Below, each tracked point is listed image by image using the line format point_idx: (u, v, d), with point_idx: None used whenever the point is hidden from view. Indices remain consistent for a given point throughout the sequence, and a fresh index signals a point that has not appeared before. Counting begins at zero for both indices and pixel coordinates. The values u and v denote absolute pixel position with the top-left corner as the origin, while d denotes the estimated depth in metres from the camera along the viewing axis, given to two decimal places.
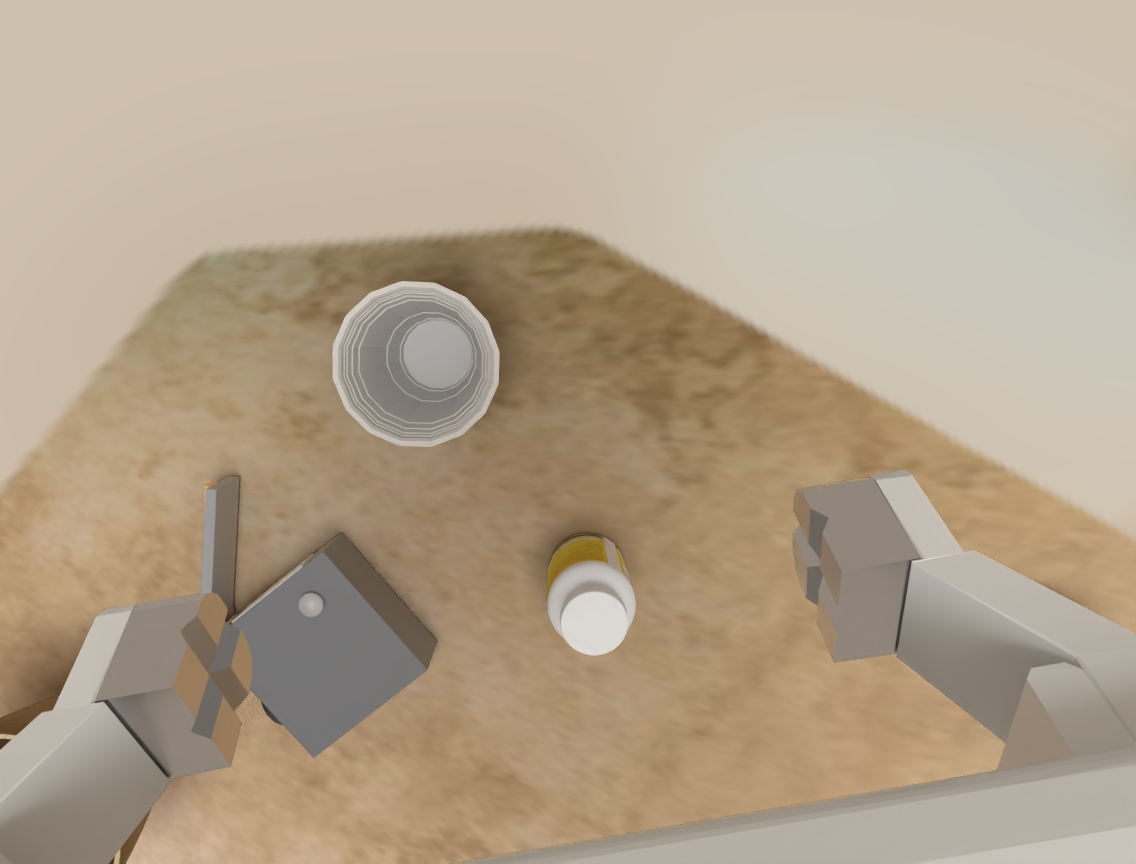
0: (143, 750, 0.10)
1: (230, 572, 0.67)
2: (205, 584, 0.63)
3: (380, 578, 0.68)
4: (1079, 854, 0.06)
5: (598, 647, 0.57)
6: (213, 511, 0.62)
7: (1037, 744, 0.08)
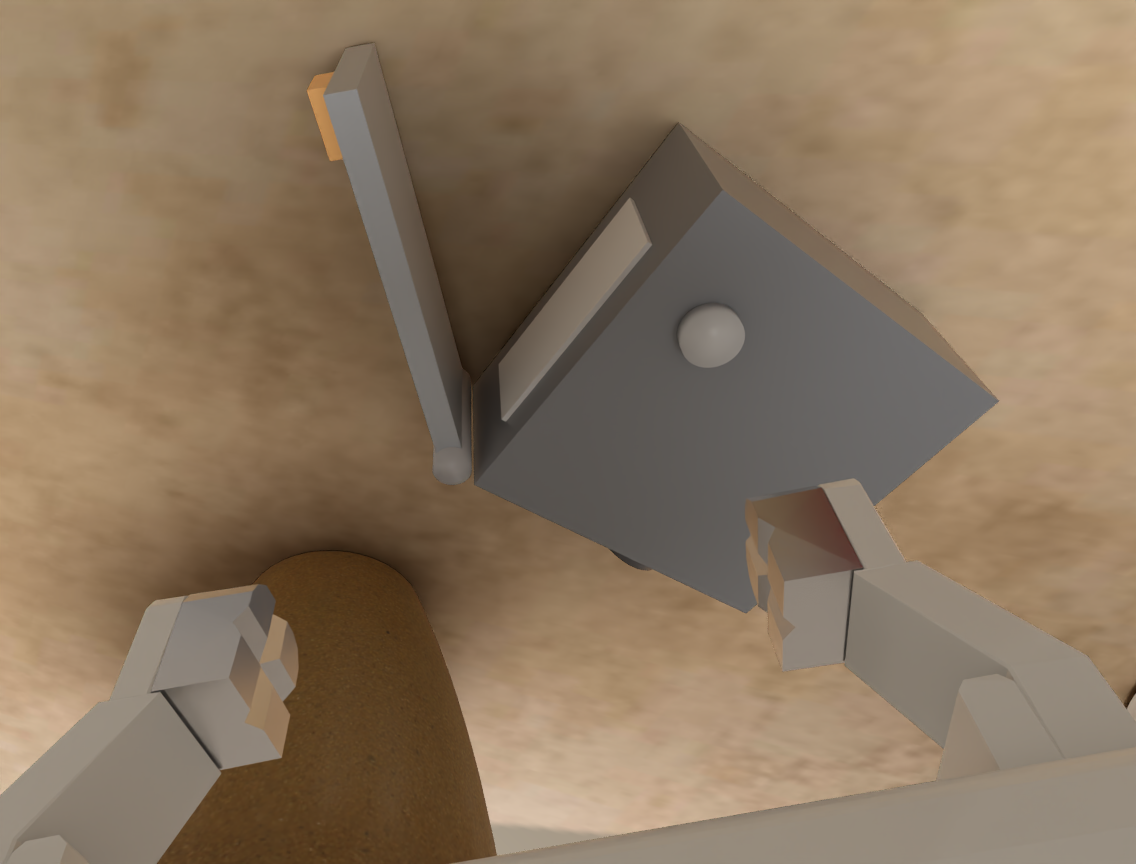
0: (196, 741, 0.10)
1: (439, 302, 0.27)
2: (419, 359, 0.24)
3: (793, 214, 0.27)
4: (1079, 854, 0.06)
5: None
6: (371, 161, 0.20)
7: (968, 756, 0.08)
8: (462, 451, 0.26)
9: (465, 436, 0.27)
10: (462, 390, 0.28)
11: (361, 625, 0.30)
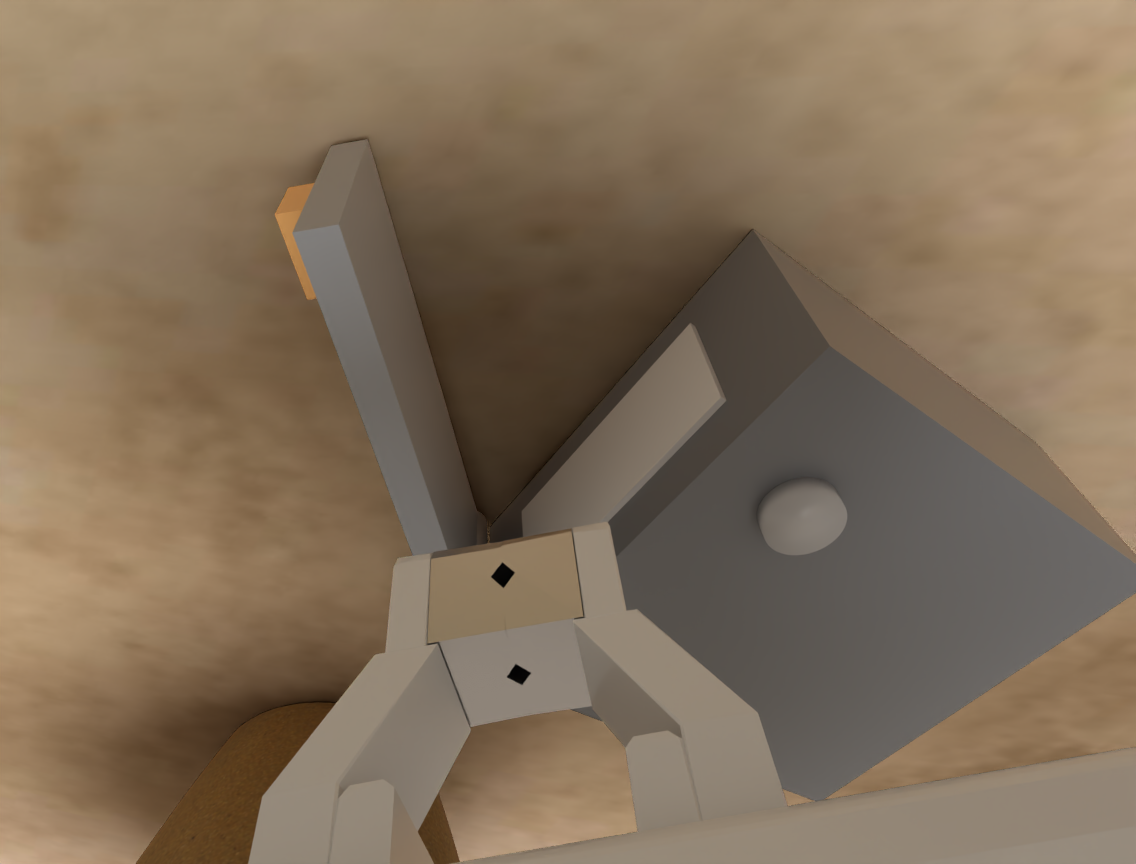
0: (457, 696, 0.10)
1: (450, 444, 0.22)
2: (423, 540, 0.18)
3: (890, 335, 0.22)
4: (1079, 854, 0.06)
5: None
6: (359, 311, 0.15)
7: None
8: None
9: None
10: (477, 544, 0.23)
11: None
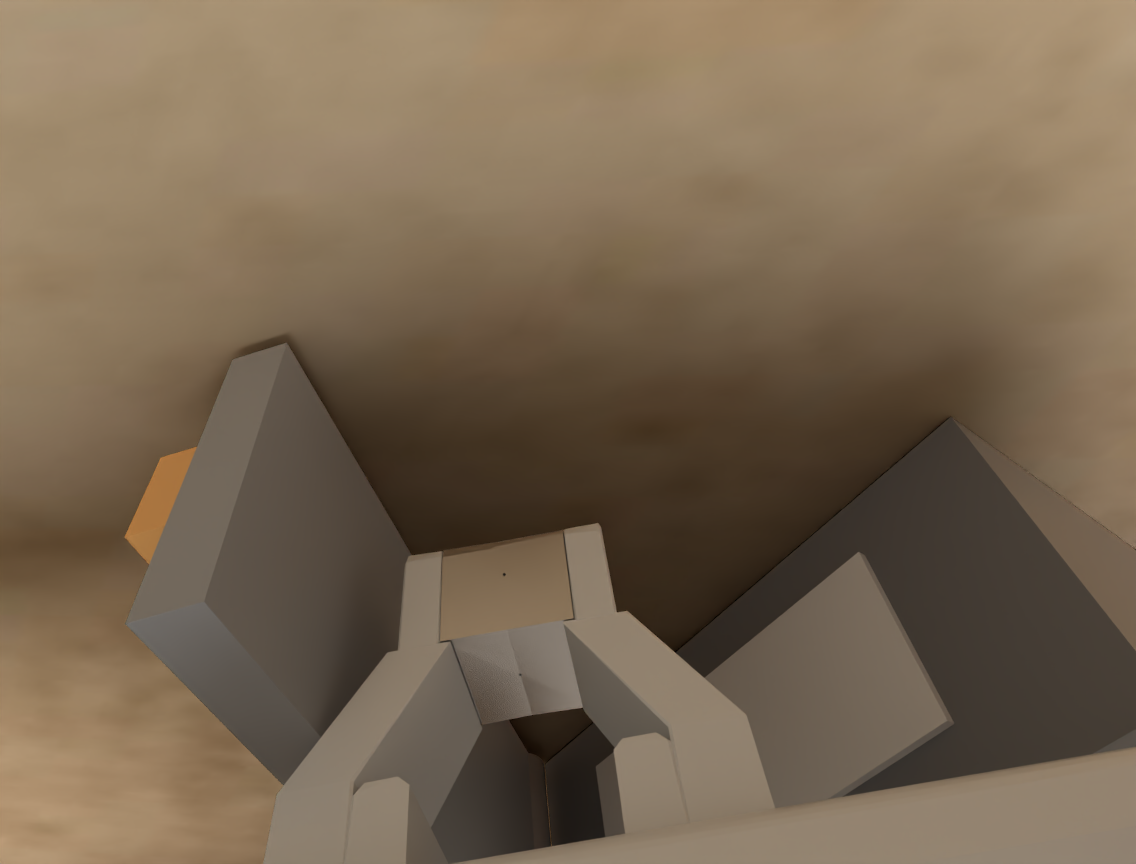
0: (469, 694, 0.10)
1: None
2: None
3: (1118, 542, 0.16)
4: (1079, 854, 0.06)
5: None
6: (277, 700, 0.09)
7: None
8: None
9: None
10: (532, 815, 0.17)
11: None
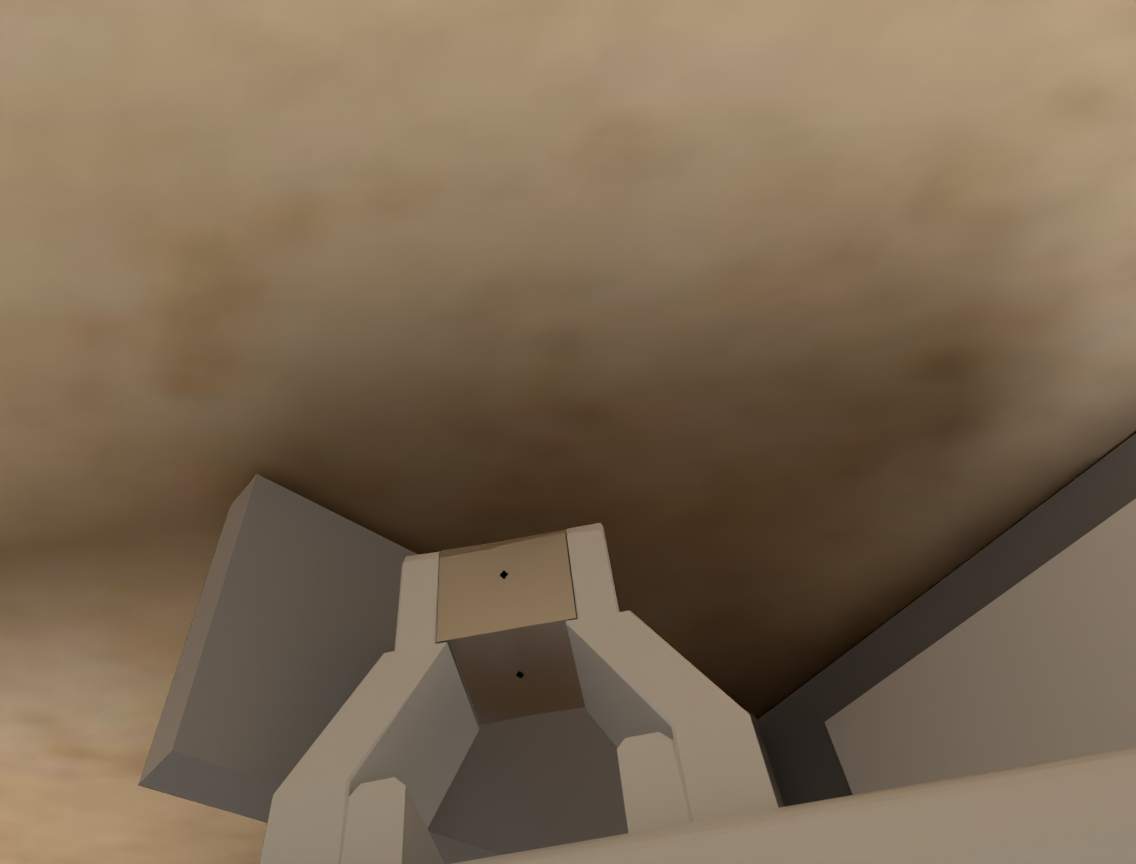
0: (466, 694, 0.10)
1: None
2: None
3: None
4: (1079, 854, 0.06)
5: None
6: None
7: None
8: None
9: None
10: None
11: None
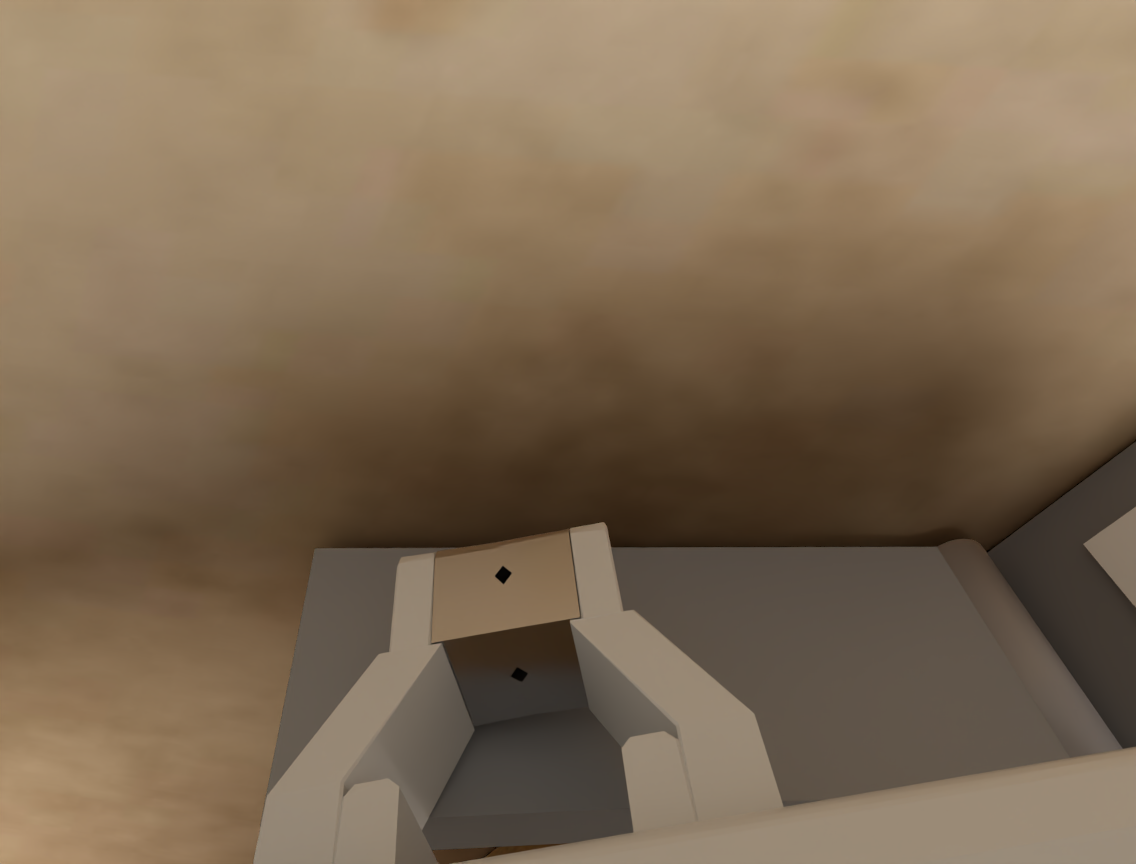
0: (461, 695, 0.10)
1: (783, 586, 0.14)
2: None
3: None
4: (1079, 854, 0.06)
5: None
6: None
7: None
8: None
9: (1066, 733, 0.12)
10: (974, 606, 0.14)
11: None
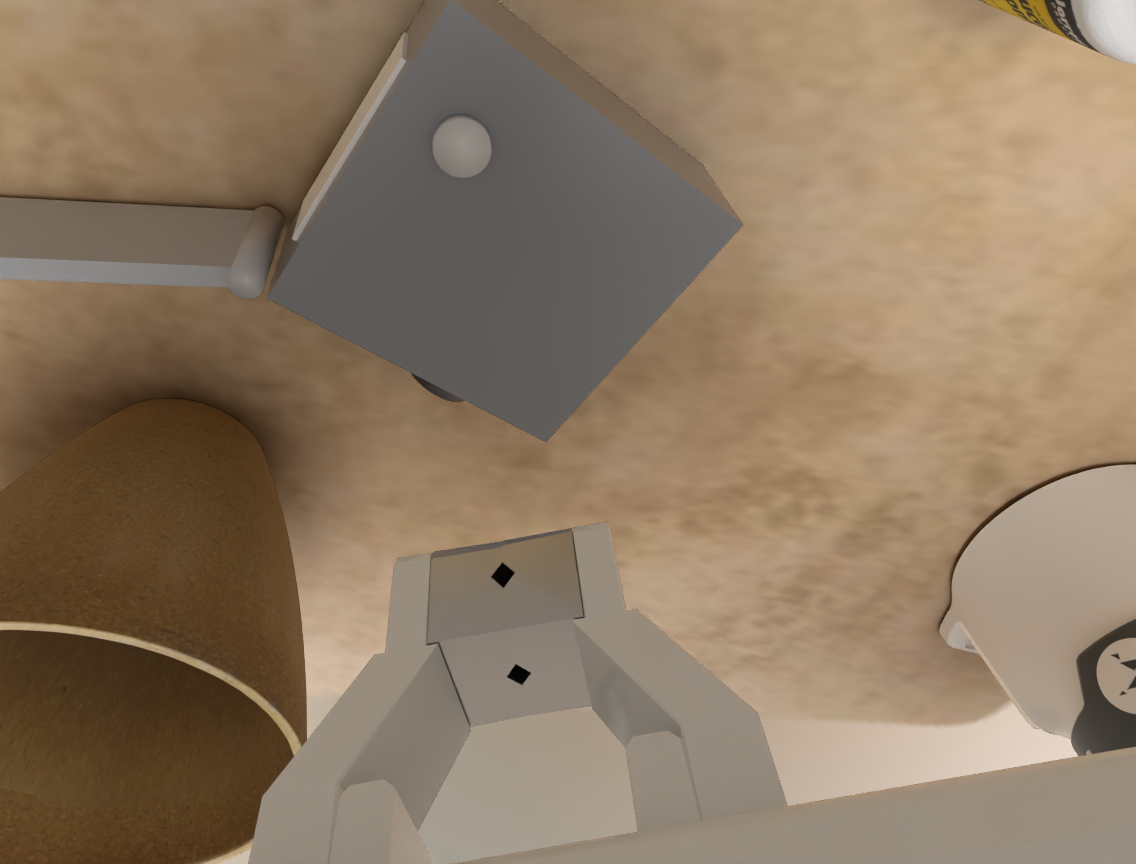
0: (457, 696, 0.10)
1: (158, 216, 0.30)
2: (125, 274, 0.28)
3: (565, 57, 0.30)
4: (1079, 854, 0.06)
5: None
6: None
7: None
8: (234, 267, 0.28)
9: (238, 254, 0.29)
10: (247, 225, 0.31)
11: (182, 448, 0.32)
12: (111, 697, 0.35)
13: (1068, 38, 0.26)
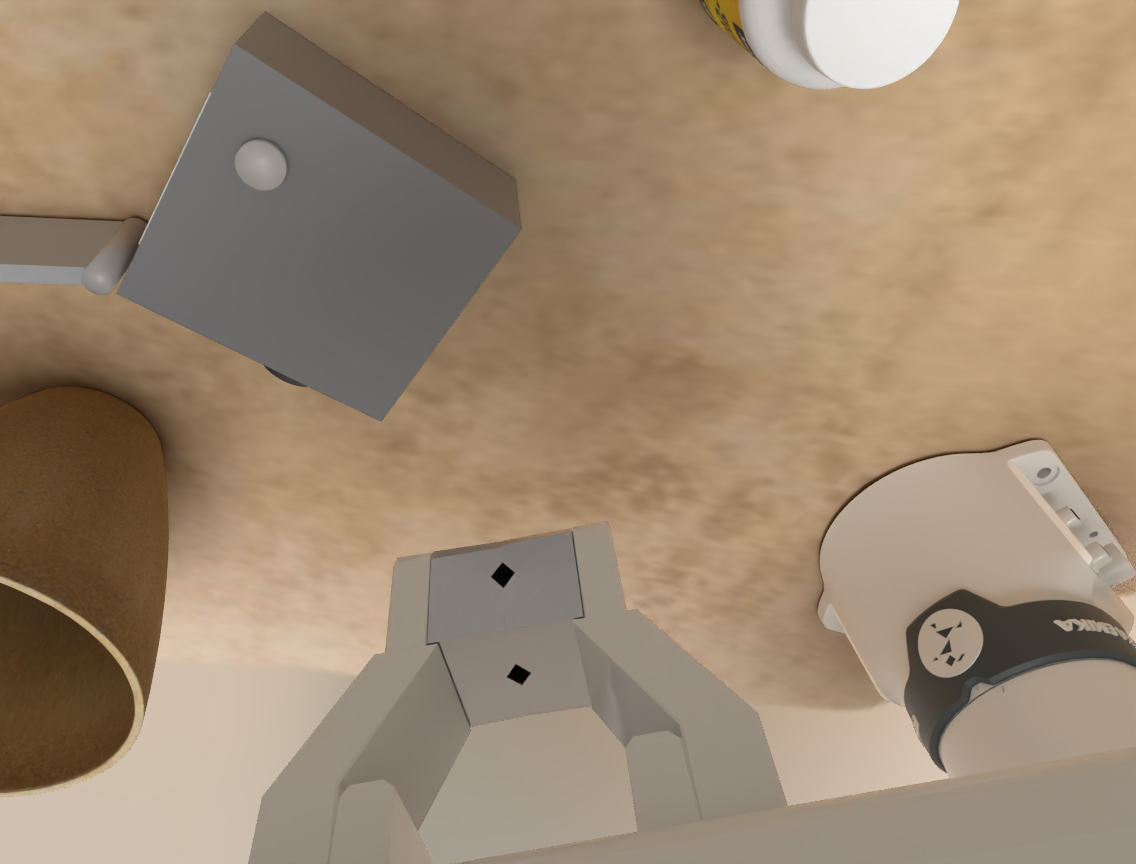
0: (457, 696, 0.10)
1: (39, 226, 0.36)
2: None
3: (375, 88, 0.35)
4: (1079, 854, 0.06)
5: (894, 63, 0.25)
6: None
7: None
8: (89, 267, 0.34)
9: (95, 257, 0.34)
10: (113, 234, 0.36)
11: (63, 424, 0.37)
12: (11, 645, 0.41)
13: None
